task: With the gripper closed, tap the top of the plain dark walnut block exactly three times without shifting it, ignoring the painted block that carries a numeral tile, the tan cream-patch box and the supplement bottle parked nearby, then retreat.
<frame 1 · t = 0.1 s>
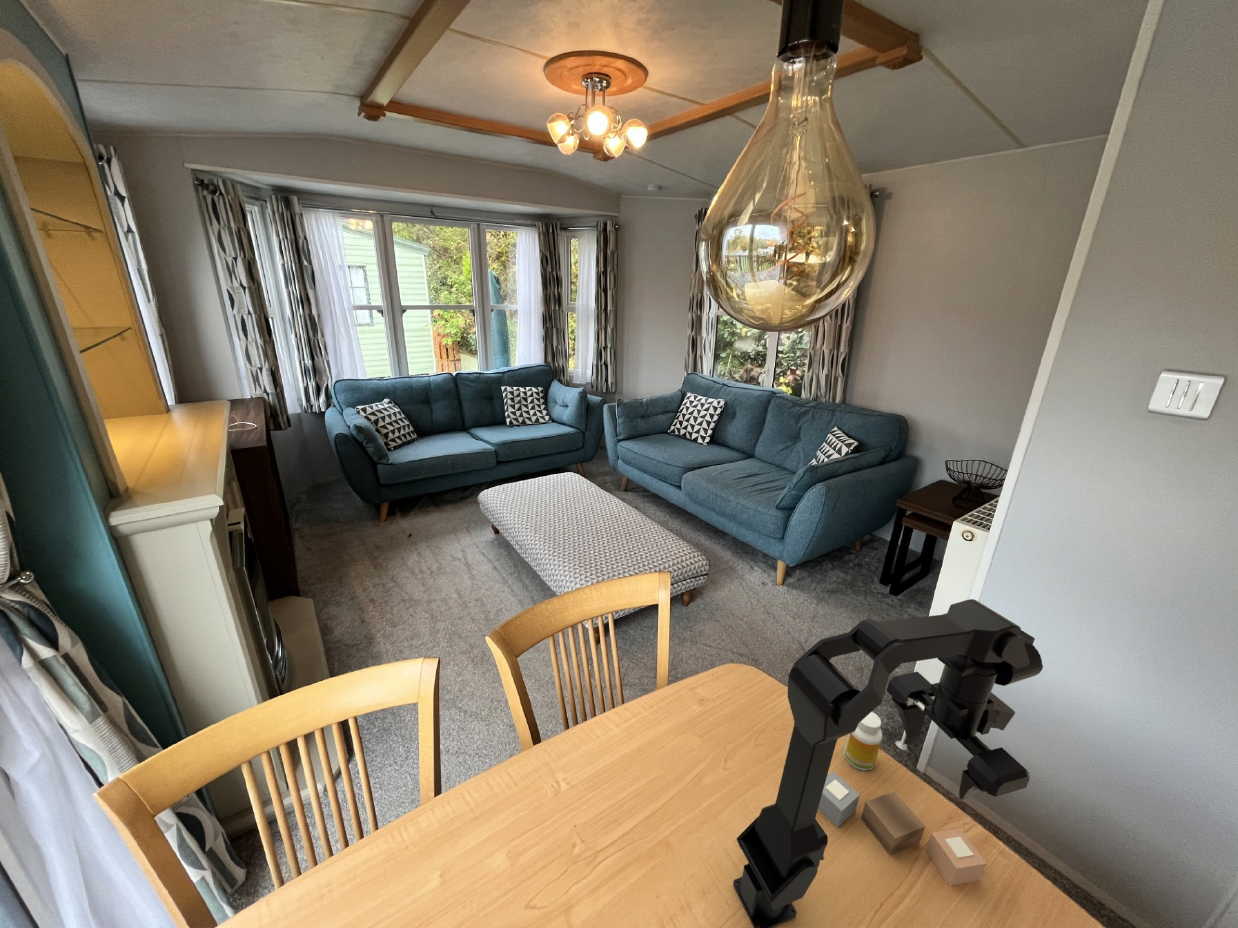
hand: (936, 769, 76), 14 cm above the table, fingers open, 9 cm apart
walnut block: (889, 830, 81), on the table
tan cream-patch box: (951, 865, 77), on the table
slate numeral block: (832, 807, 85), on the table
supplement bottle: (858, 758, 94), on the table
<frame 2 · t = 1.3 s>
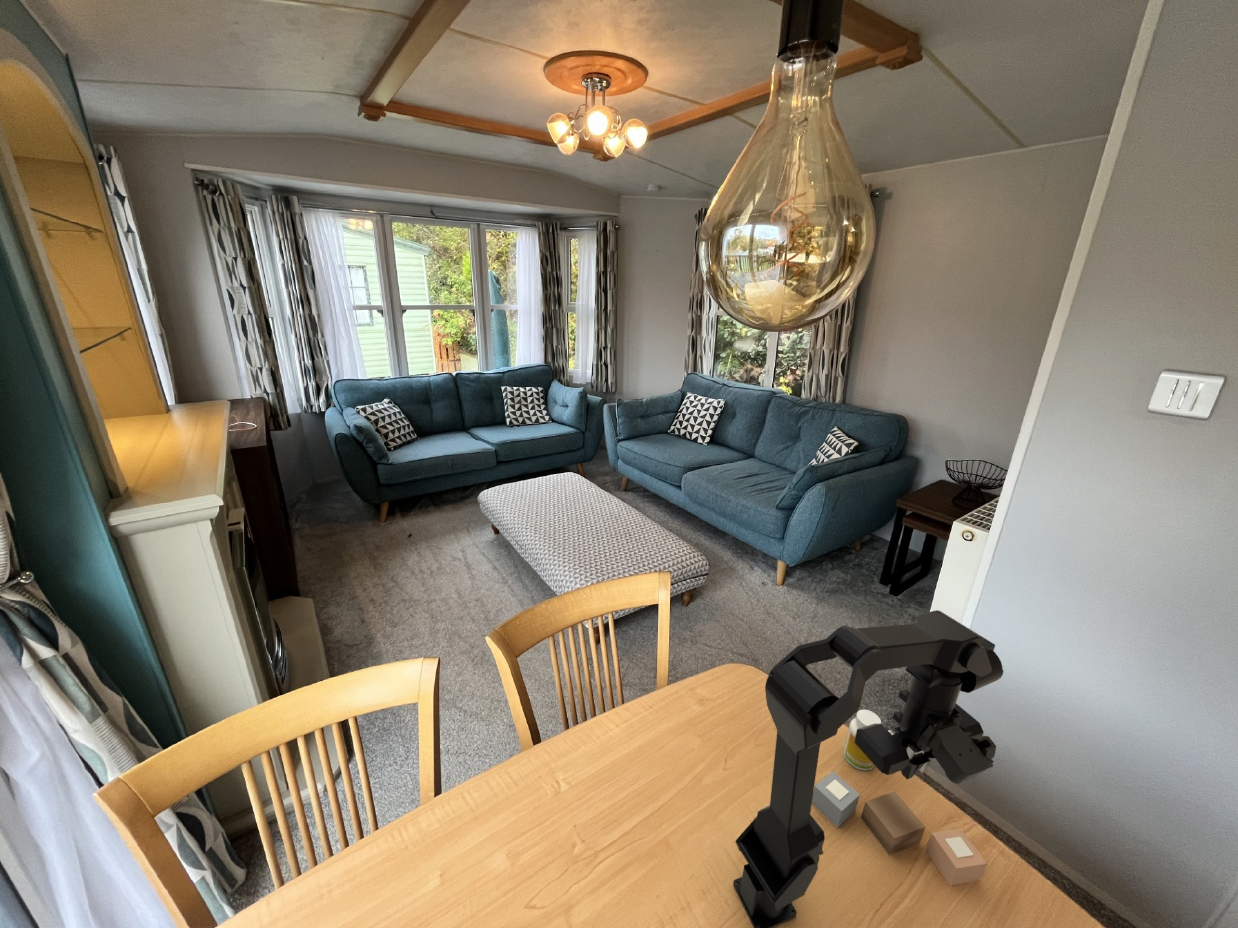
hand: (906, 775, 77), 12 cm above the table, fingers closed
nothing on the table moved.
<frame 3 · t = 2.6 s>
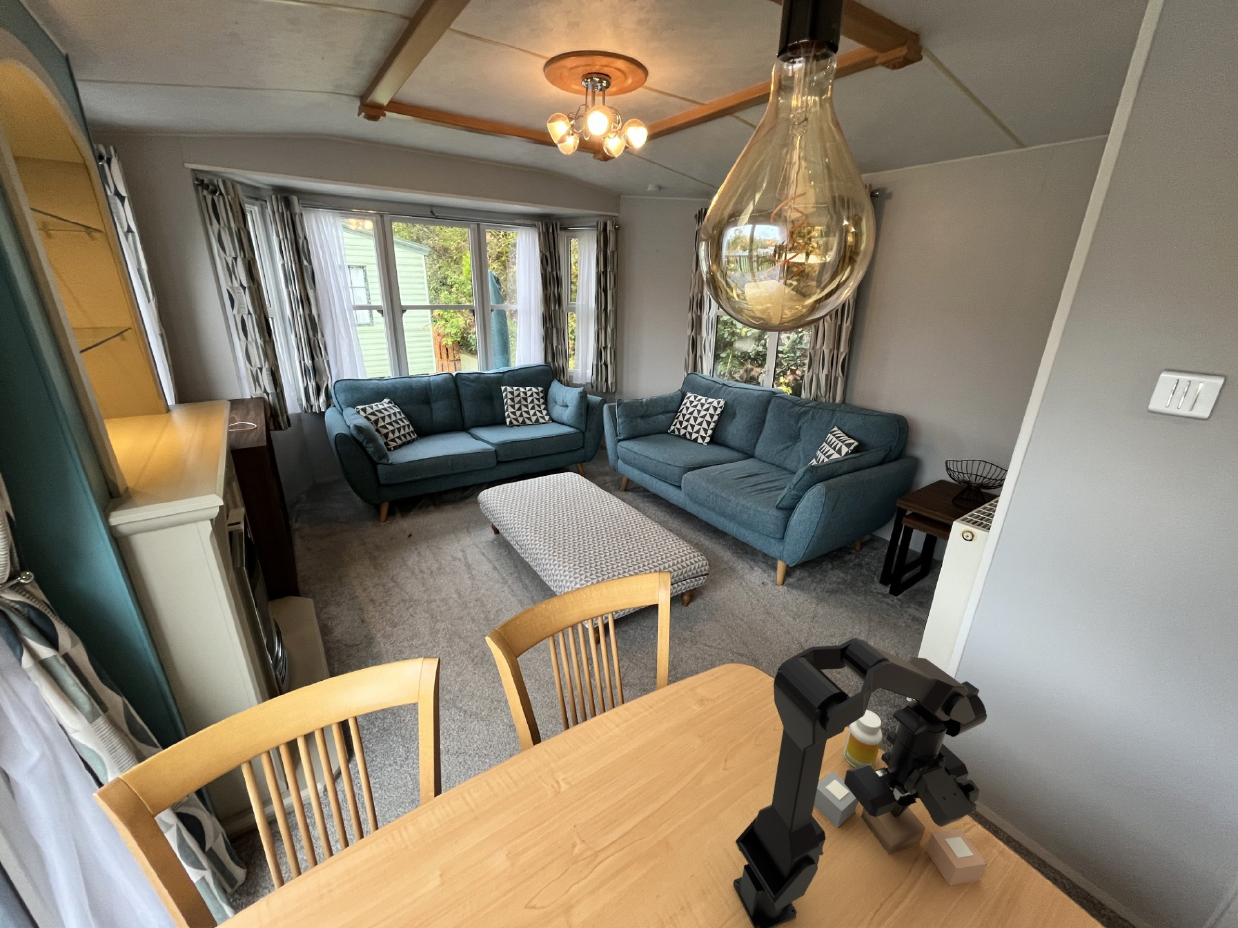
hand: (894, 813, 80), 4 cm above the table, fingers closed
walnut block: (889, 830, 82), on the table, touching gripper
everything else where it was.
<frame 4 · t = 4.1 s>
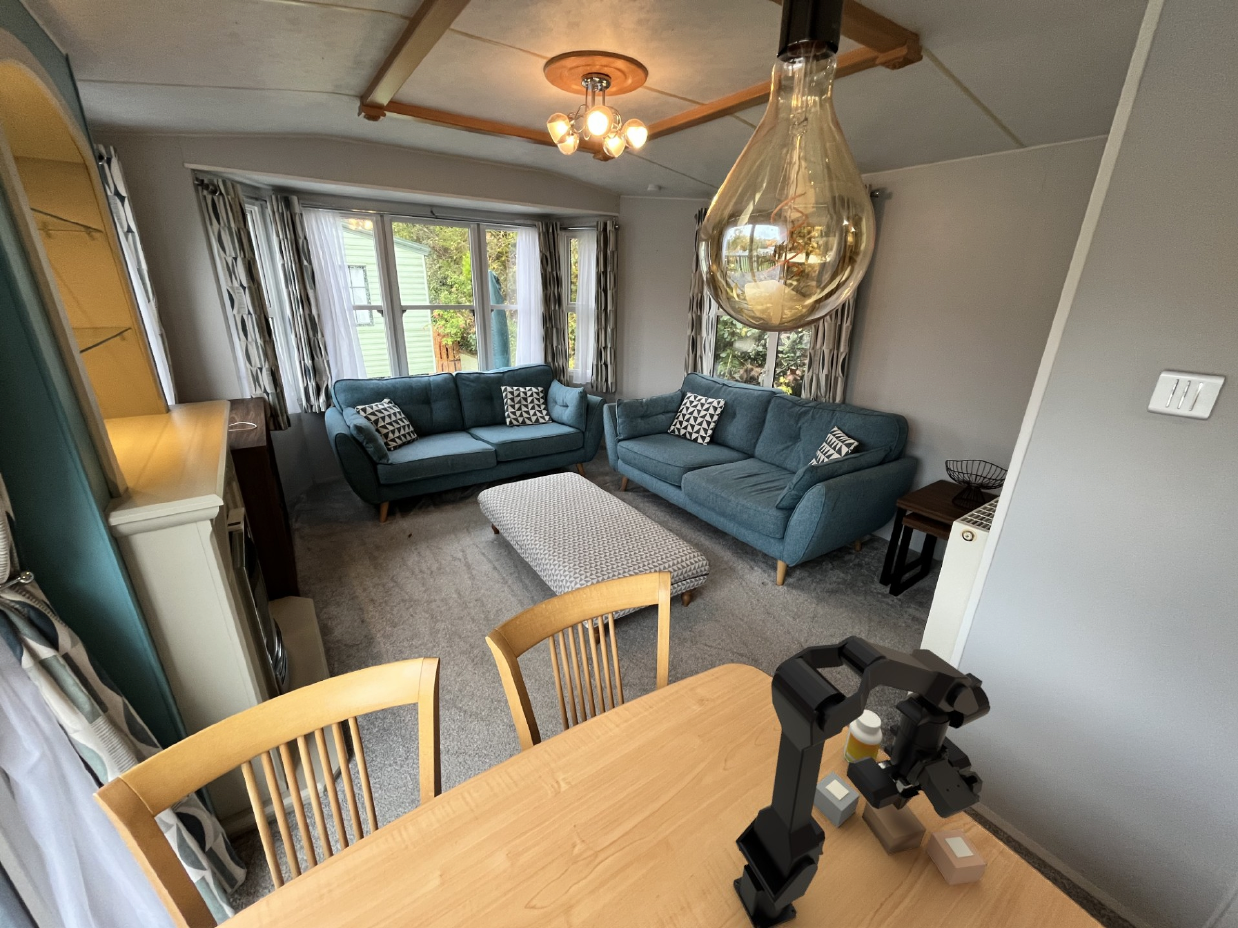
hand: (897, 806, 80), 5 cm above the table, fingers closed
walnut block: (890, 831, 81), on the table
everything else where it was.
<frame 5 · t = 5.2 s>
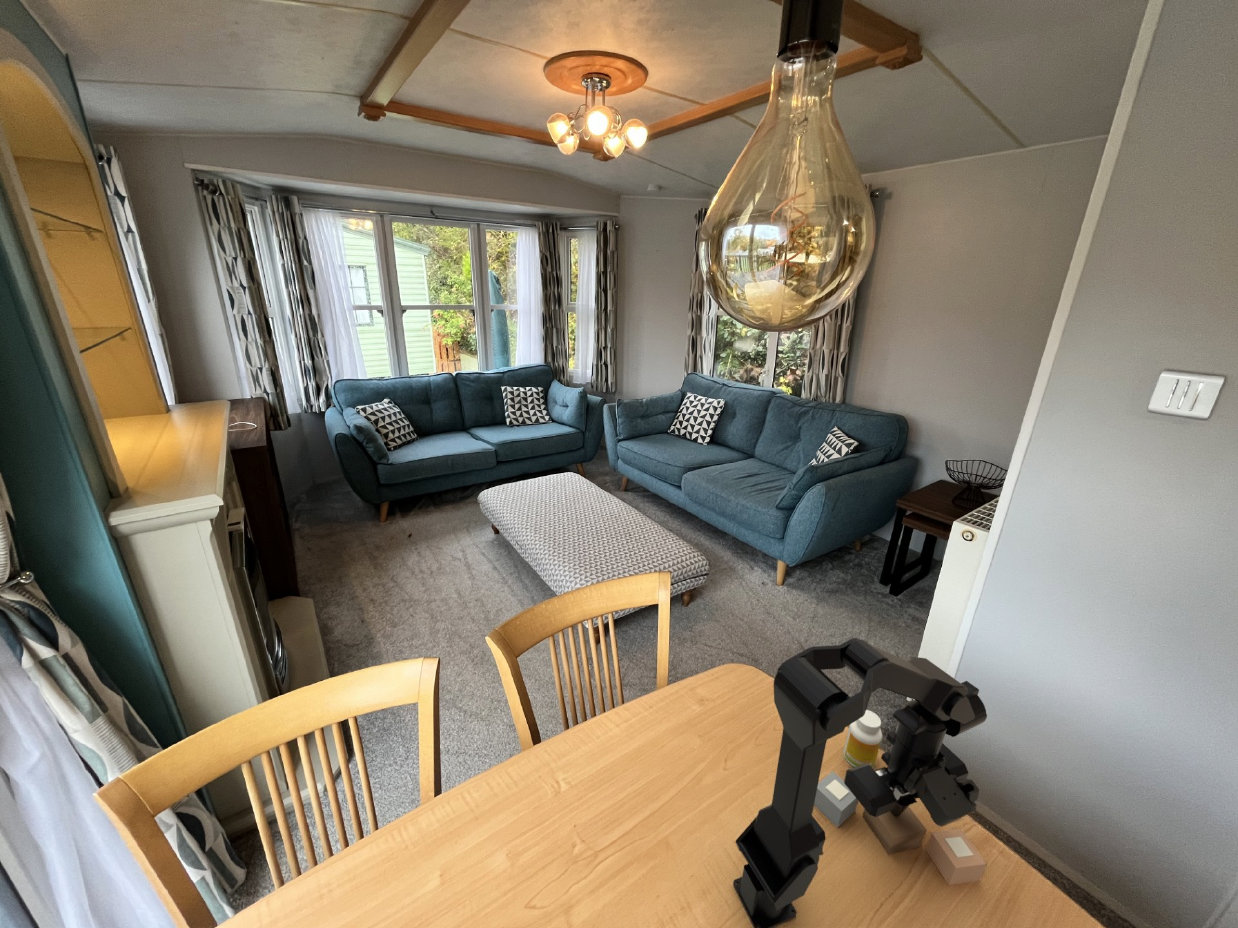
hand: (894, 813, 80), 4 cm above the table, fingers closed
nothing on the table moved.
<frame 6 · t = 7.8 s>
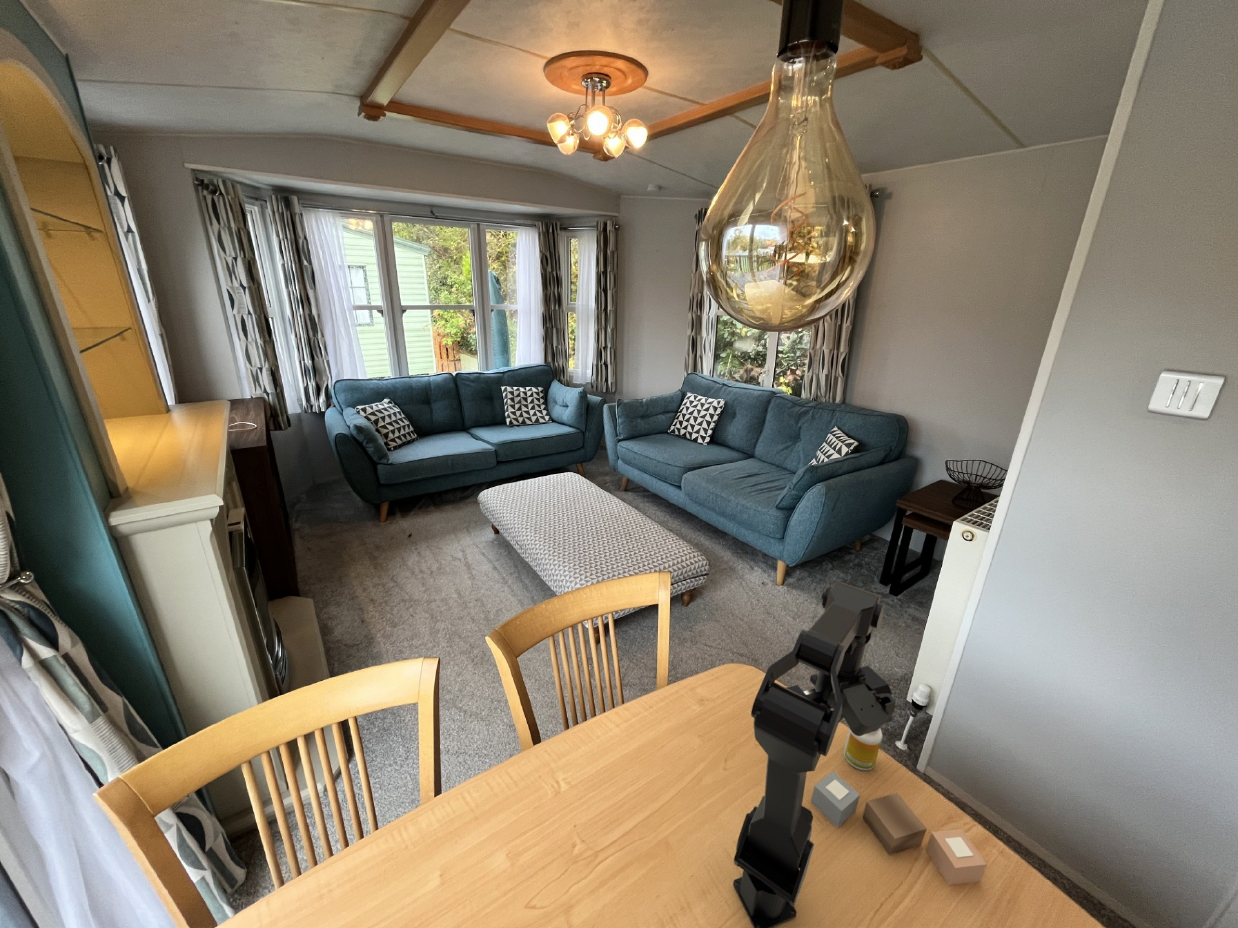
hand: (824, 734, 84), 12 cm above the table, fingers closed
nothing on the table moved.
at the end: walnut block moved 0.3 cm from its start; walnut block tilted 0°; walnut block touching table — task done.
